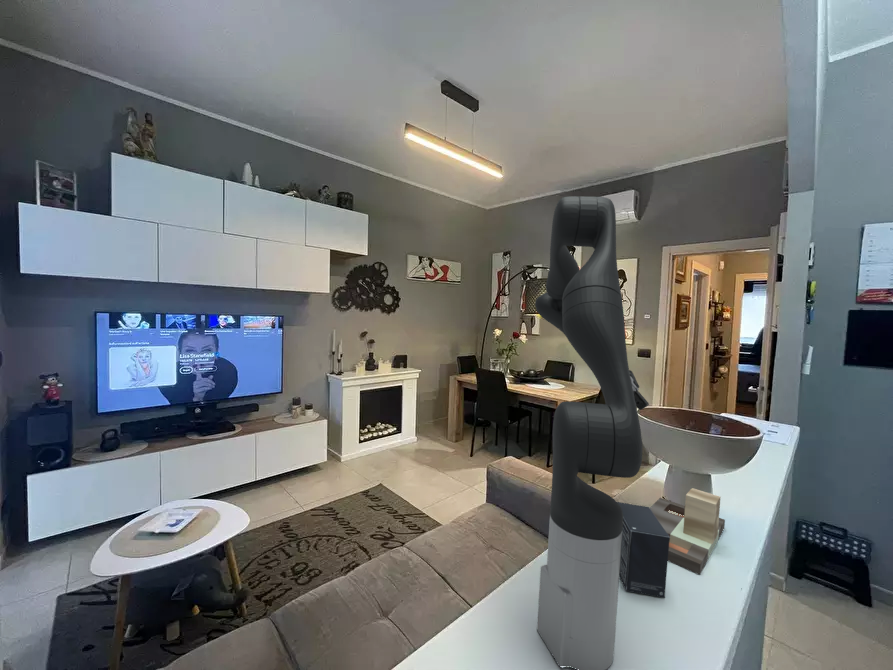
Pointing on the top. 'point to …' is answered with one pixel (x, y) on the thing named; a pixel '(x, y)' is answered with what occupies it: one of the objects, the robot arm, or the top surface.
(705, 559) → the board
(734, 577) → the top surface
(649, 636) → the top surface
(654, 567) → the small box
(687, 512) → the maple block
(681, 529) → the pad
